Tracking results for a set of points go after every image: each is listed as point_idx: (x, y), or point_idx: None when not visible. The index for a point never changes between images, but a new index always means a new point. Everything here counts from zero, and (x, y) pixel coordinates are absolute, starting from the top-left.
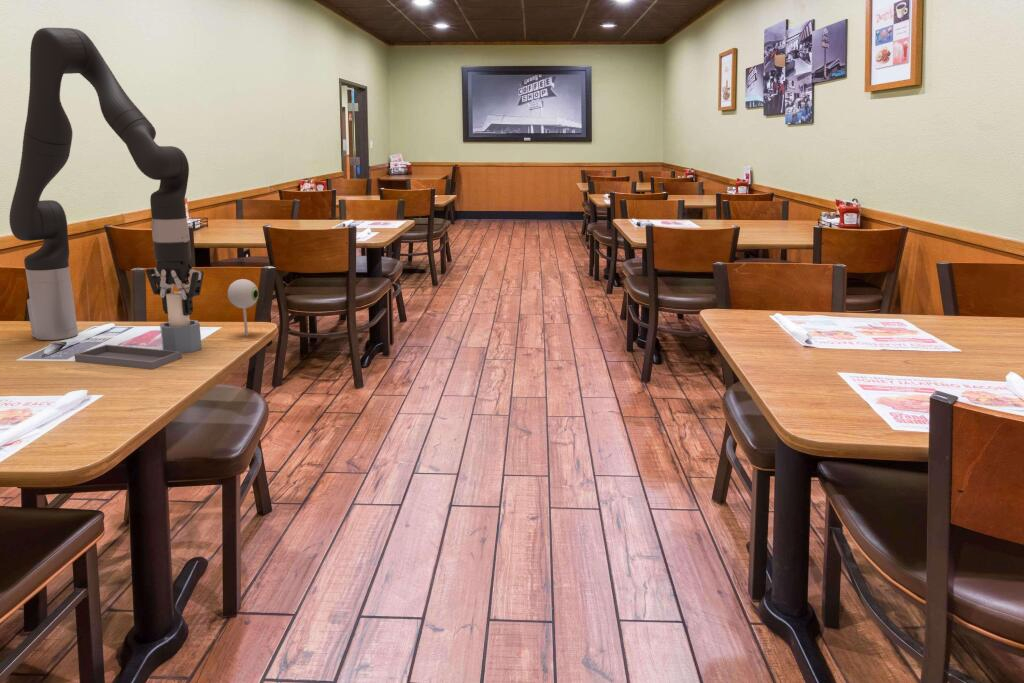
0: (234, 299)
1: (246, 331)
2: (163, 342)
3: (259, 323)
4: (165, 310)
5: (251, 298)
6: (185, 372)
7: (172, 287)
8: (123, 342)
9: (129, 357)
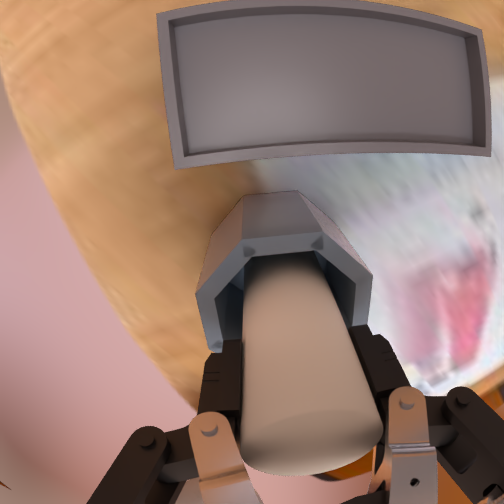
0: None
1: None
2: (305, 207)
3: None
4: (365, 334)
5: None
6: (88, 89)
7: (372, 478)
8: (493, 270)
9: (367, 99)
